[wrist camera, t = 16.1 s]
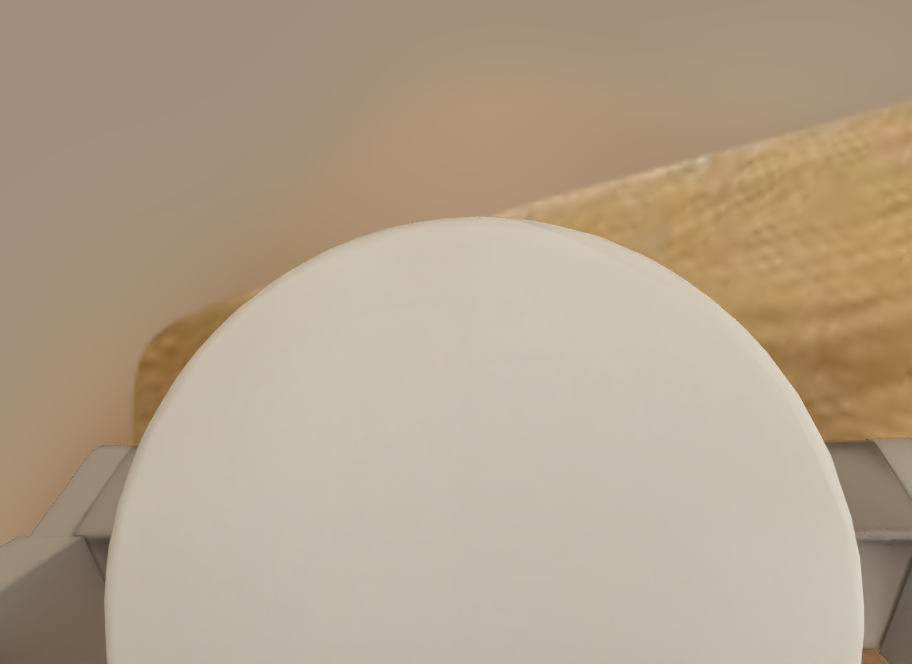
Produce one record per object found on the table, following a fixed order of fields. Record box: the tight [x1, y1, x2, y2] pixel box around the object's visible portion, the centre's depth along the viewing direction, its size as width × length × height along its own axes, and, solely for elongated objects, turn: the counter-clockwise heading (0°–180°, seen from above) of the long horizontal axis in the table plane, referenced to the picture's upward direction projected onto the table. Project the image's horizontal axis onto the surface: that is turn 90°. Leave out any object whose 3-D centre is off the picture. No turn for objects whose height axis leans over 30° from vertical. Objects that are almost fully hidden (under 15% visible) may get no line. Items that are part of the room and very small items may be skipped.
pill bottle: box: [104, 216, 864, 664], centre depth 10 cm, size 6×6×11 cm
